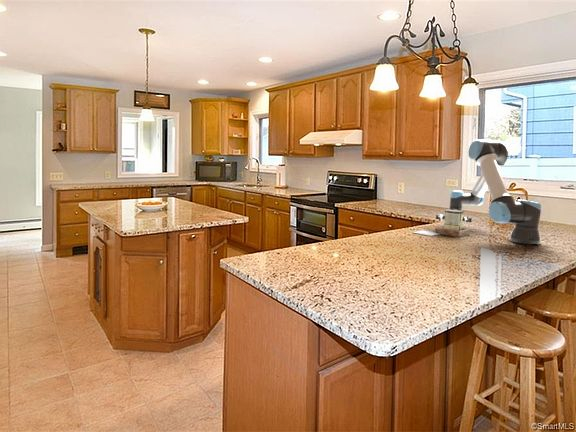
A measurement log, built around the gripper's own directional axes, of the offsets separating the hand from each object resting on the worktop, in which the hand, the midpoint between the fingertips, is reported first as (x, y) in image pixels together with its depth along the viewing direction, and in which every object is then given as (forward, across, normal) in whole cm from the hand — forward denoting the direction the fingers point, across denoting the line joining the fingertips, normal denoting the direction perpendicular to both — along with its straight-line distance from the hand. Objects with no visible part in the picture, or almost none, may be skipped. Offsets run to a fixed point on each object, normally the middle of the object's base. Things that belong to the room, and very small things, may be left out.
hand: (452, 220), depth 246 cm
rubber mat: (+8, +14, -8) cm, 18 cm away
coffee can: (-2, 0, -9) cm, 9 cm away
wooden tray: (-2, 0, -8) cm, 9 cm away
